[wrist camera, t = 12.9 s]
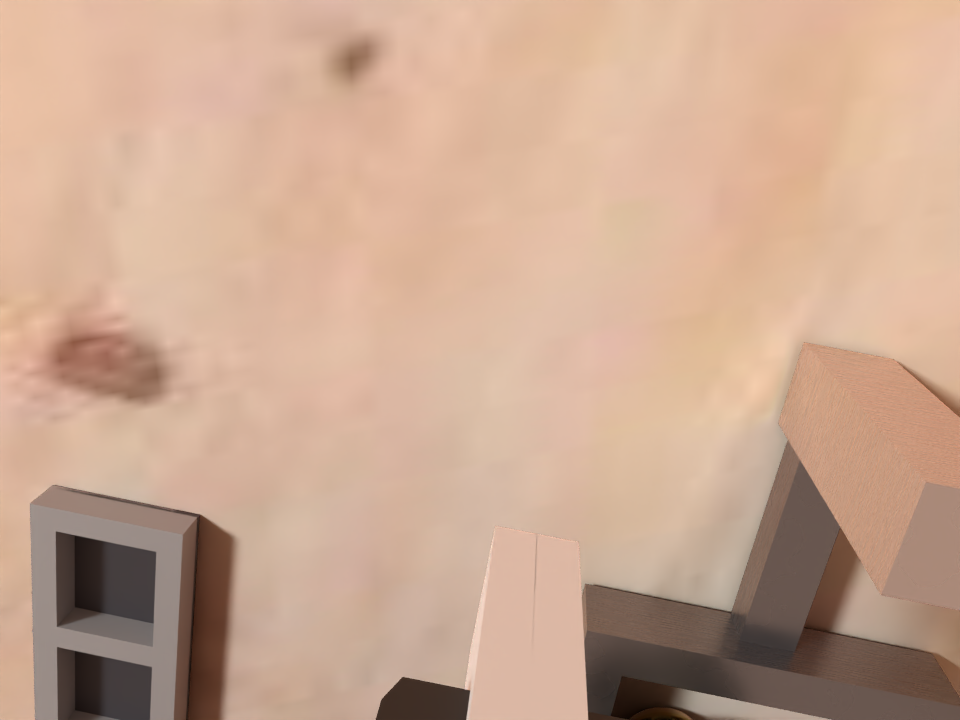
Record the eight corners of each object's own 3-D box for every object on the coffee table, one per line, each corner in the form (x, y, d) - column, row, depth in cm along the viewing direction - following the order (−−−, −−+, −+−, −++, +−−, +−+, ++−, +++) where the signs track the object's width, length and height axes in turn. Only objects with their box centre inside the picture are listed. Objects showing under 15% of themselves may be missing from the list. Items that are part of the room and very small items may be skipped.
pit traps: (186, 747, 37) (170, 774, 35) (56, 719, 37) (35, 745, 35) (199, 514, 33) (182, 534, 31) (53, 485, 33) (30, 503, 31)
